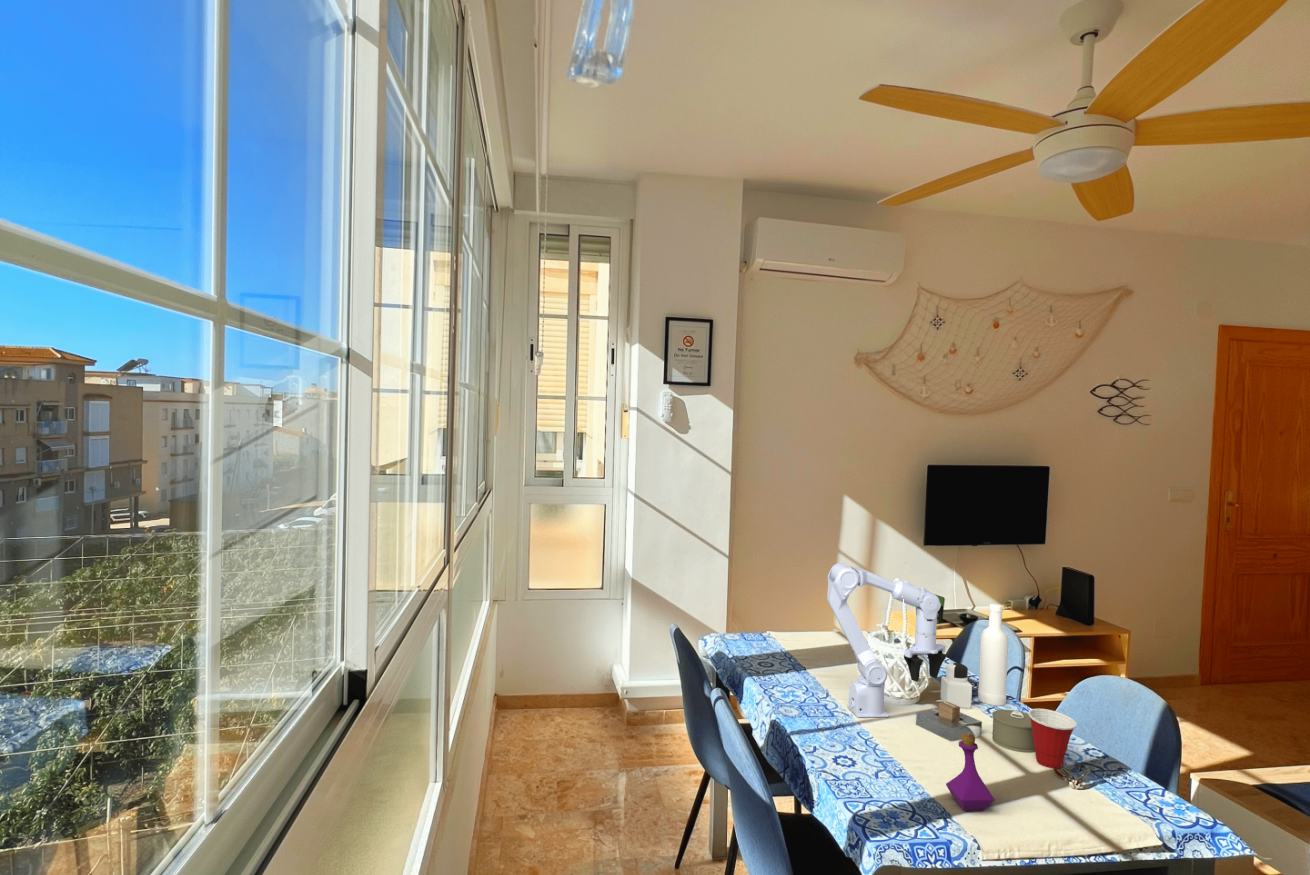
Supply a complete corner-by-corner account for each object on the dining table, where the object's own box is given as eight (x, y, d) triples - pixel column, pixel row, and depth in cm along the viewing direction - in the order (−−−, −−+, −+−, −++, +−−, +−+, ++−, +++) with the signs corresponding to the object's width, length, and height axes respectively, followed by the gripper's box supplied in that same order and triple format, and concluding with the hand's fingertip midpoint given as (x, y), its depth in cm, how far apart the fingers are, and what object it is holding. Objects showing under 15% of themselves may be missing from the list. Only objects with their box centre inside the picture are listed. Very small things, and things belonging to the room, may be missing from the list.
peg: (951, 733, 204) (952, 707, 204) (938, 727, 208) (939, 702, 208) (959, 732, 206) (960, 706, 206) (945, 726, 210) (947, 700, 210)
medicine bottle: (963, 700, 231) (965, 661, 231) (971, 708, 224) (973, 669, 224) (940, 698, 232) (941, 660, 232) (946, 707, 225) (948, 667, 224)
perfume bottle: (944, 798, 168) (948, 718, 167) (976, 797, 168) (980, 718, 168) (961, 815, 160) (964, 731, 160) (994, 815, 161) (998, 732, 161)
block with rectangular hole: (950, 741, 199) (951, 727, 199) (915, 724, 210) (916, 711, 210) (981, 734, 205) (981, 720, 205) (945, 718, 215) (946, 705, 215)
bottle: (1010, 706, 227) (1014, 608, 227) (984, 705, 227) (988, 607, 227) (998, 697, 235) (1003, 602, 235) (973, 696, 235) (977, 601, 235)
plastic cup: (1056, 777, 180) (1058, 727, 180) (1016, 758, 190) (1018, 711, 190) (1084, 769, 185) (1086, 721, 185) (1044, 751, 195) (1046, 706, 195)
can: (990, 746, 197) (991, 720, 197) (992, 730, 208) (993, 706, 208) (1041, 757, 192) (1043, 730, 192) (1040, 740, 202) (1041, 715, 202)
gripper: (918, 638, 211) (916, 686, 211) (954, 633, 217) (952, 679, 218) (899, 632, 217) (898, 678, 217) (935, 627, 224) (933, 672, 224)
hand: (924, 678), depth 218 cm, fingers open, 7 cm apart
